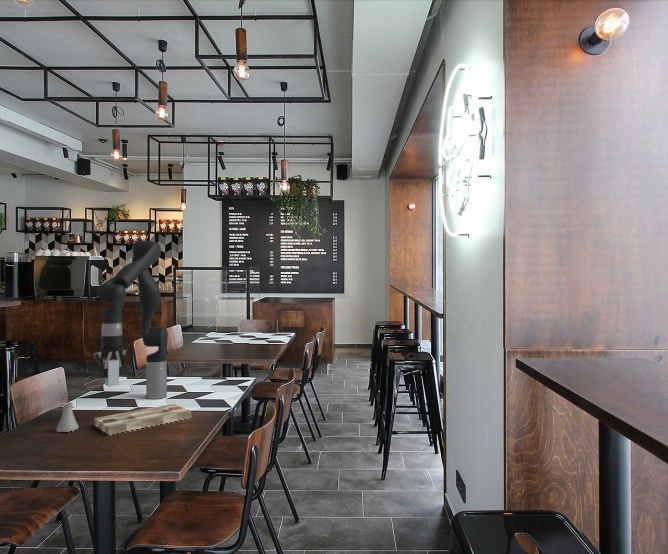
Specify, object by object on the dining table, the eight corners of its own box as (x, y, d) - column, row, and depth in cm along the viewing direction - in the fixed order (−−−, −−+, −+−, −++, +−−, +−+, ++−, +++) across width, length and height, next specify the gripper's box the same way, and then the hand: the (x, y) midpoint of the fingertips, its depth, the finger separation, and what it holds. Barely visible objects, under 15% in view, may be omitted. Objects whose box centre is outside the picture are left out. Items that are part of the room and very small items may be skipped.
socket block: (94, 426, 189) (94, 417, 189) (173, 410, 211) (173, 403, 211) (108, 435, 178) (108, 426, 178) (191, 418, 199) (191, 410, 199)
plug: (105, 385, 198) (105, 360, 198) (115, 383, 201) (115, 358, 201) (108, 386, 195) (108, 361, 195) (118, 385, 198) (118, 360, 198)
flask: (82, 428, 186) (83, 402, 186) (66, 434, 179) (67, 406, 179) (68, 426, 188) (68, 400, 188) (51, 432, 182) (51, 405, 182)
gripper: (126, 332, 206) (126, 373, 206) (90, 334, 196) (90, 378, 196) (133, 333, 200) (133, 376, 200) (96, 336, 190) (96, 381, 190)
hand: (111, 376), depth 198 cm, fingers closed on plug, 4 cm apart
